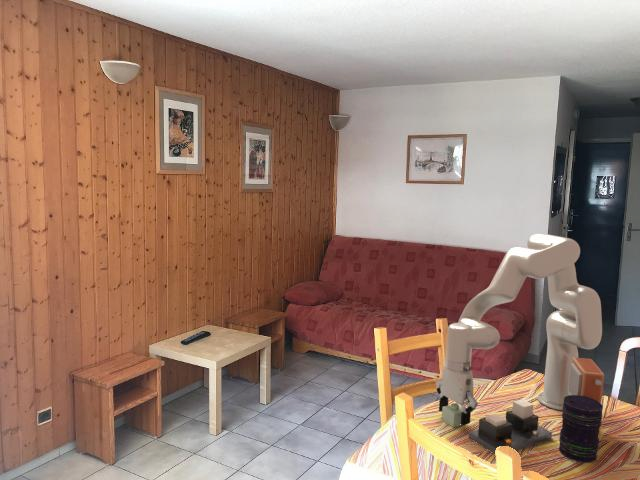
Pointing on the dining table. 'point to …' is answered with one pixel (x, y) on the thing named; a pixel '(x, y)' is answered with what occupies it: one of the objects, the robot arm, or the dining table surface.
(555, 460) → the dining table surface
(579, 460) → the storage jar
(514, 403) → the breaker button
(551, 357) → the robot arm
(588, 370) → the orange fan heater
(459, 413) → the cap
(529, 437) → the breaker board
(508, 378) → the dining table surface
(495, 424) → the tagged breaker button
